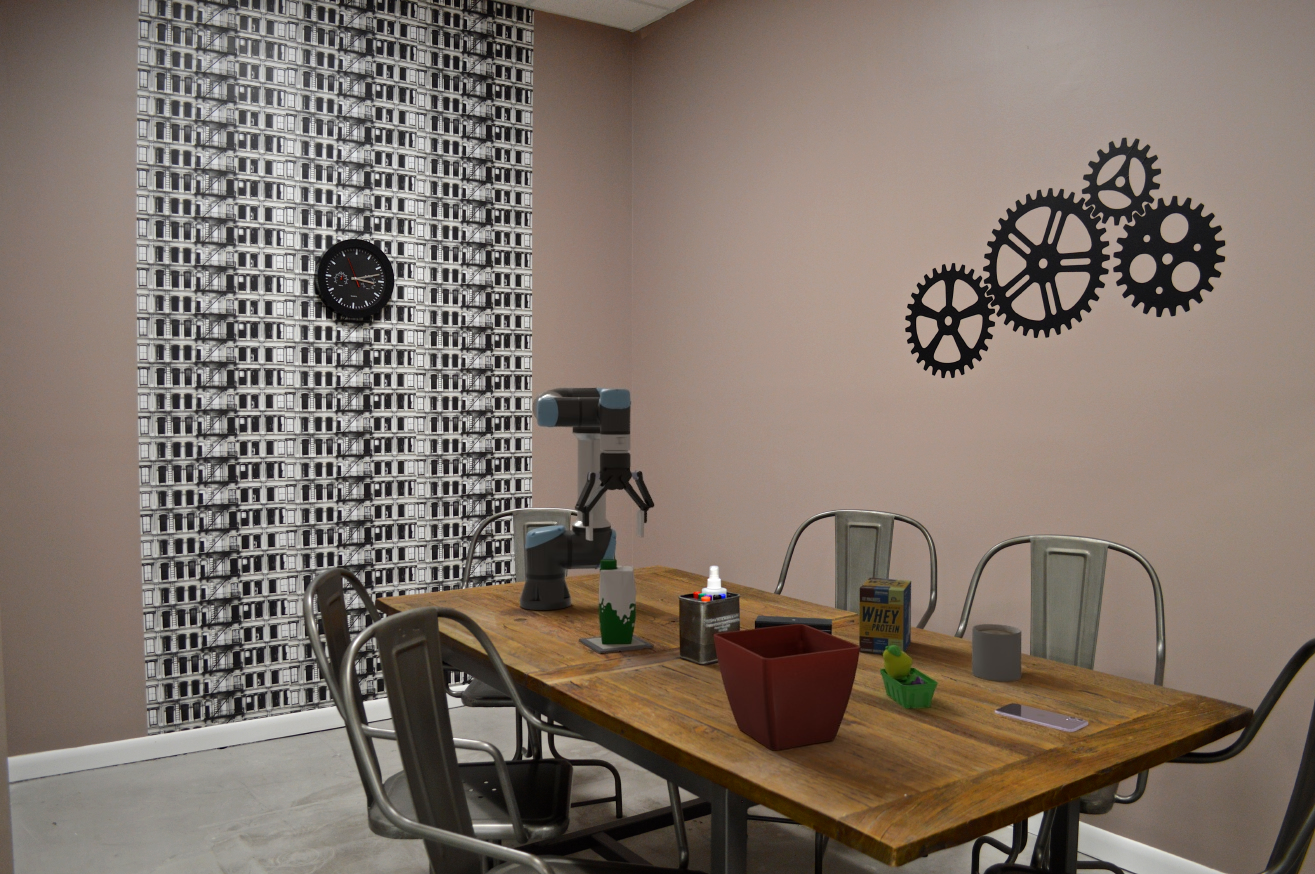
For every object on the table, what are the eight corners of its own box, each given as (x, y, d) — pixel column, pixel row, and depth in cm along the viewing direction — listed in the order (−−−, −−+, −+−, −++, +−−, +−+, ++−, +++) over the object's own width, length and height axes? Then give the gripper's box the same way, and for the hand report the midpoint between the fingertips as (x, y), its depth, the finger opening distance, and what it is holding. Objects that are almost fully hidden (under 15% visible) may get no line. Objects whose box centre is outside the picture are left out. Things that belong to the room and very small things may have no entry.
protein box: (858, 652, 219) (858, 587, 219) (869, 638, 233) (869, 577, 233) (903, 656, 215) (904, 590, 215) (911, 641, 229) (912, 579, 229)
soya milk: (600, 636, 232) (599, 557, 231) (636, 636, 232) (636, 557, 231) (598, 645, 223) (597, 562, 223) (635, 645, 223) (635, 562, 223)
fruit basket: (939, 709, 176) (940, 650, 176) (895, 711, 174) (896, 652, 174) (913, 691, 187) (913, 636, 187) (872, 694, 186) (872, 638, 185)
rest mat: (578, 641, 230) (578, 638, 230) (630, 635, 236) (630, 632, 236) (599, 653, 217) (599, 650, 217) (653, 647, 224) (653, 644, 224)
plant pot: (764, 761, 149) (765, 657, 149) (711, 725, 166) (711, 632, 166) (863, 744, 157) (863, 646, 156) (801, 712, 174) (802, 623, 174)
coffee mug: (997, 683, 193) (997, 636, 192) (962, 672, 202) (962, 626, 201) (1043, 675, 199) (1043, 629, 198) (1006, 664, 207) (1007, 620, 207)
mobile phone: (1012, 700, 179) (1090, 719, 168) (1012, 705, 179) (1090, 725, 168) (992, 709, 174) (1071, 729, 162) (992, 714, 174) (1071, 734, 163)
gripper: (572, 453, 217) (572, 543, 218) (667, 451, 228) (667, 537, 229) (561, 452, 224) (561, 539, 225) (654, 450, 235) (654, 533, 235)
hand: (615, 538), depth 227 cm, fingers open, 13 cm apart
